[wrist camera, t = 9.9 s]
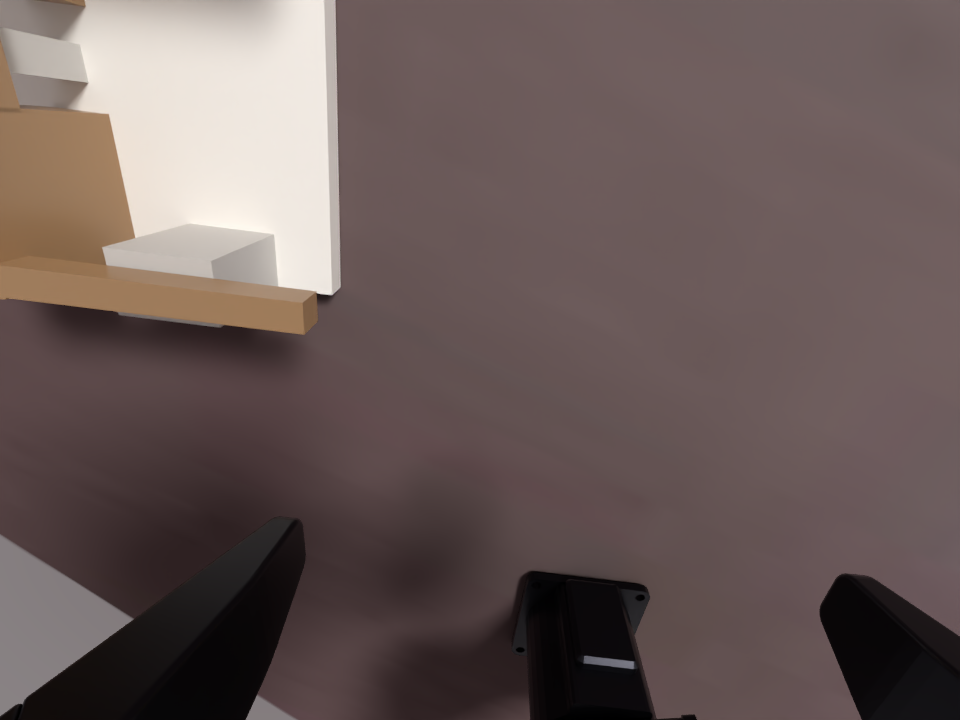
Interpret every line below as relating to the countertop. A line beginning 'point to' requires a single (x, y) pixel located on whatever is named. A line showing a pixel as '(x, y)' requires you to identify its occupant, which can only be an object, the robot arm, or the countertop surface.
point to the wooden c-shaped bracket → (100, 228)
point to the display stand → (202, 127)
